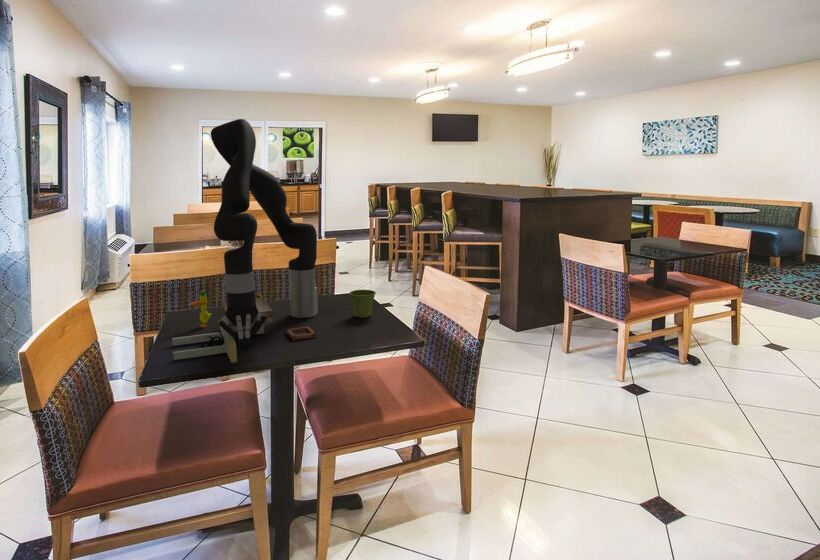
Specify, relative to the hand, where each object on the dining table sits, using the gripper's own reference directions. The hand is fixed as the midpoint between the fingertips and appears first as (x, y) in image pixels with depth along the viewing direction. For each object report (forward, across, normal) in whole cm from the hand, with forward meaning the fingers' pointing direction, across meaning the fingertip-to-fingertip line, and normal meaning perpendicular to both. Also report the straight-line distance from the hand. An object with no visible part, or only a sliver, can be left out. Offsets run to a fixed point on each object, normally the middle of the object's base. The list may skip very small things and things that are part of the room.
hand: (244, 350), depth 136 cm
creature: (+3, +8, -12) cm, 15 cm away
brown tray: (+3, -19, -14) cm, 24 cm away
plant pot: (+3, -45, -27) cm, 53 cm away
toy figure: (+3, +8, -38) cm, 38 cm away
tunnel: (+3, -3, -14) cm, 15 cm away
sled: (+2, +10, -9) cm, 14 cm away
